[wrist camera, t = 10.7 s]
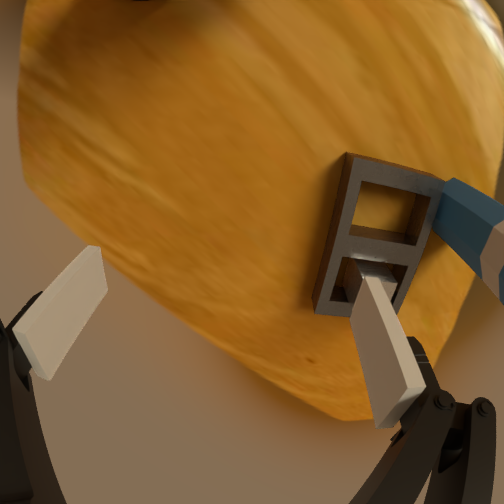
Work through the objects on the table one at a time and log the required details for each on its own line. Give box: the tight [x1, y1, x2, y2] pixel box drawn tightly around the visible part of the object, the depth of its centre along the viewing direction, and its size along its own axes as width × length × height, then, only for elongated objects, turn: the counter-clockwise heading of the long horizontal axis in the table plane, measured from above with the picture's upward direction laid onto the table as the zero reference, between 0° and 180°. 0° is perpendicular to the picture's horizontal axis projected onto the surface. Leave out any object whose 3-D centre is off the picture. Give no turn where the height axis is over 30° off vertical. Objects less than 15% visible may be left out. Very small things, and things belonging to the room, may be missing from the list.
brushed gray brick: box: [342, 258, 398, 311], centre depth 39 cm, size 5×5×7 cm
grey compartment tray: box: [312, 152, 445, 317], centre depth 38 cm, size 22×13×4 cm, turn 173°
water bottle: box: [432, 178, 504, 305], centre depth 26 cm, size 9×9×25 cm
